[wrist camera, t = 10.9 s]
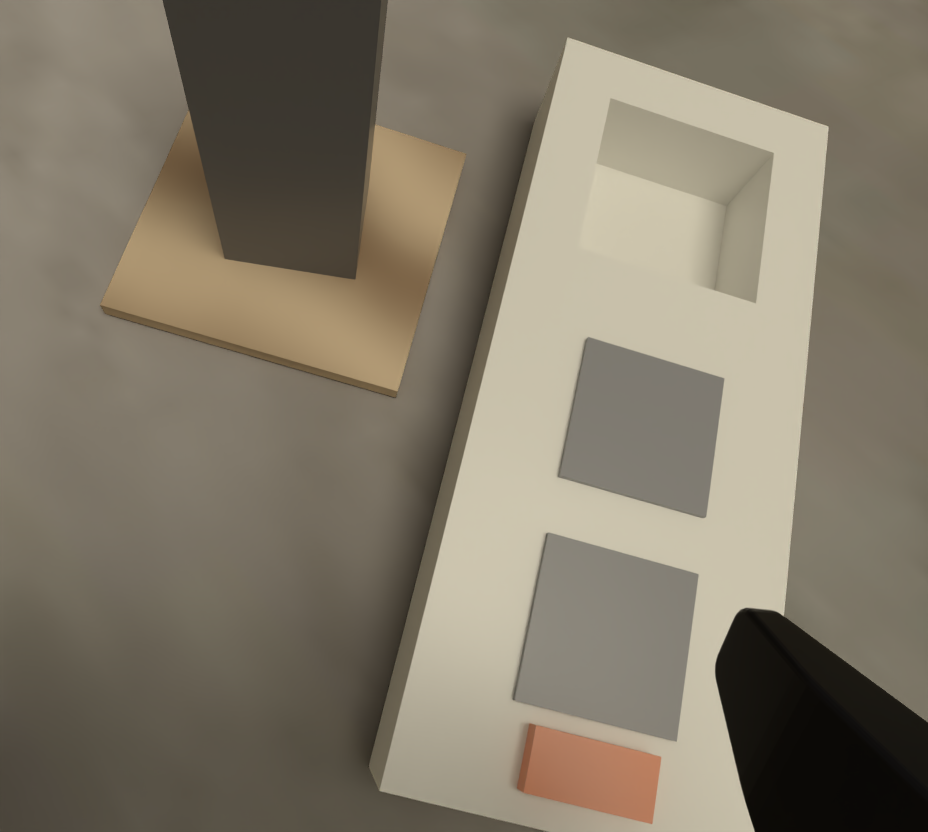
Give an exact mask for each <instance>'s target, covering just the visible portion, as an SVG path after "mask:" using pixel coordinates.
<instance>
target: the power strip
mask: <svg viewBox="0 0 928 832" xmlns="http://www.w3.org/2000/svg"><path fill="white" fill-rule="evenodd" d="M828 128H829V127H828V126H825V125H822V124H819V123H816V122H813V121H810V120H807V119H805V118H802V117H799V116H796V115H793V114H790V113H787V112H784V111H781V110H778V109H775V108H772V107H770V106H767V105H764V104H761V103H758V102H755V101H752V100H749V99H746V98H743V97H740V96H737V95H734V94H732V93H729V92H726V91H723V90H720V89H717V88H714V87H711V86H708V85H705V84H702V83H699V82H696V81H694V80H691V79H688V78H685V77H682V76H679V75H676V74H673V73H670V72H667V71H664V70H661V69H658V68H656V67H653V66H650V65H647V64H644V63H641V62H638V61H635V60H632V59H629V58H626V57H623V56H620V55H618V54H615V53H612V52H609V51H606V50H603V49H600V48H597V47H594V46H591V45H588V44H585V43H582V42H580V41H577V40H574V39H571V38H567V41H566V43H565V46H564V48H563V51H562V53H561V56H560V58H559V61H558V63H557V66H556V68H555V71H554V73H553V76H552V78H551V81H550V83H549V86H548V88H547V91H546V93H545V96H544V98H543V101H542V103H541V106H540V108H539V111H538V113H537V116H536V118H535V121H534V125H533V128H532V132H531V136H530V140H529V144H528V148H527V152H526V156H525V160H524V163H523V167H522V171H521V175H520V179H519V183H518V187H517V191H516V195H515V198H514V202H513V206H512V210H511V214H510V218H509V222H508V226H507V230H506V234H505V237H504V241H503V245H502V249H501V253H500V257H499V261H498V265H497V269H496V272H495V276H494V280H493V284H492V288H491V292H490V296H489V300H488V304H487V307H486V311H485V315H484V319H483V323H482V327H481V331H480V335H479V339H478V342H477V346H476V350H475V354H474V358H473V362H472V366H471V370H470V374H469V377H468V381H467V385H466V389H465V393H464V397H463V401H462V405H461V409H460V413H459V416H458V420H457V424H456V428H455V432H454V436H453V440H452V444H451V448H450V451H449V455H448V459H447V463H446V467H445V471H444V475H443V479H442V483H441V486H440V490H439V494H438V498H437V502H436V506H435V510H434V514H433V518H432V521H431V525H430V529H429V533H428V537H427V541H426V545H425V549H424V553H423V556H422V560H421V564H420V568H419V572H418V576H417V580H416V584H415V588H414V591H413V595H412V599H411V603H410V607H409V611H408V615H407V619H406V623H405V627H404V630H403V634H402V638H401V642H400V646H399V650H398V654H397V658H396V662H395V665H394V669H393V673H392V677H391V681H390V685H389V689H388V693H387V697H386V700H385V704H384V708H383V712H382V716H381V720H380V724H379V728H378V732H377V735H376V739H375V743H374V747H373V751H372V755H371V759H370V763H369V769H370V771H371V773H372V776H373V778H374V780H375V782H376V785H377V787H378V789H379V791H381V792H385V793H389V794H393V795H398V796H402V797H406V798H410V799H414V800H419V801H423V802H427V803H431V804H435V805H439V806H444V807H448V808H452V809H456V810H460V811H464V812H469V813H473V814H477V815H481V816H485V817H489V818H494V819H498V820H502V821H506V822H510V823H515V824H519V825H523V826H527V827H531V828H535V829H540V830H544V831H548V832H755V831H754V828H753V825H752V822H751V819H750V816H749V812H748V809H747V806H746V803H745V799H744V796H743V792H742V788H741V785H740V781H739V777H738V772H737V768H736V764H735V760H734V755H733V751H732V747H731V743H730V738H729V734H728V730H727V726H726V721H725V717H724V713H723V709H722V704H721V700H720V696H719V692H718V687H717V683H716V678H715V663H716V658H717V655H718V653H719V651H720V648H721V646H722V644H723V642H724V639H725V637H726V635H727V633H728V630H729V628H730V626H731V624H732V621H733V619H734V617H735V615H736V613H737V612H739V611H740V610H741V609H743V608H757V609H767V610H773V611H776V612H778V613H780V614H781V615H783V616H784V608H785V597H786V586H787V575H788V564H789V554H790V543H791V532H792V521H793V510H794V499H795V488H796V477H797V466H798V455H799V444H800V434H801V423H802V412H803V401H804V390H805V379H806V368H807V357H808V346H809V335H810V324H811V313H812V303H813V292H814V281H815V270H816V259H817V248H818V237H819V226H820V215H821V204H822V193H823V183H824V172H825V161H826V150H827V139H828Z"/></svg>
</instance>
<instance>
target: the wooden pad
mask: <svg viewBox="0 0 928 832" xmlns="http://www.w3.org/2000/svg"><path fill="white" fill-rule="evenodd" d="M465 157H466V154H465V153H462V152H459V151H456V150H452V149H449V148H446V147H443V146H440V145H437V144H434V143H431V142H428V141H425V140H422V139H418V138H415V137H412V136H409V135H406V134H403V133H400V132H397V131H394V130H391V129H387V128H384V127H381V126H378V125H375V130H374V140H373V150H372V160H371V169H370V179H369V189H368V196H367V203H366V210H365V217H364V224H363V231H362V238H361V245H360V252H359V259H358V266H357V273H356V280H354V279H347V278H341V277H335V276H328V275H322V274H316V273H309V272H303V271H297V270H290V269H284V268H278V267H271V266H265V265H259V264H252V263H246V262H240V261H234V260H227V259H225V258H224V254H223V250H222V246H221V241H220V237H219V233H218V229H217V225H216V221H215V216H214V212H213V208H212V204H211V200H210V196H209V191H208V187H207V183H206V179H205V175H204V170H203V166H202V162H201V158H200V154H199V150H198V145H197V141H196V137H195V133H194V129H193V125H192V120H191V116H190V112H189V110H188V112H187V115H186V117H185V119H184V121H183V123H182V126H181V128H180V130H179V132H178V134H177V137H176V139H175V141H174V143H173V145H172V148H171V150H170V152H169V154H168V156H167V159H166V161H165V163H164V165H163V167H162V170H161V172H160V174H159V176H158V178H157V181H156V183H155V185H154V187H153V189H152V192H151V194H150V196H149V198H148V200H147V203H146V205H145V207H144V209H143V211H142V214H141V216H140V218H139V220H138V223H137V225H136V227H135V229H134V231H133V234H132V236H131V238H130V240H129V242H128V245H127V247H126V249H125V251H124V253H123V256H122V258H121V260H120V262H119V264H118V267H117V269H116V271H115V273H114V275H113V278H112V280H111V282H110V284H109V286H108V289H107V291H106V293H105V295H104V297H103V300H102V302H101V304H100V306H101V307H102V309H103V310H104V312H105V314H108V315H112V316H115V317H119V318H122V319H126V320H129V321H132V322H136V323H139V324H143V325H146V326H150V327H153V328H157V329H160V330H164V331H167V332H170V333H174V334H177V335H181V336H184V337H188V338H191V339H195V340H198V341H202V342H205V343H208V344H212V345H215V346H219V347H222V348H226V349H229V350H233V351H236V352H240V353H243V354H246V355H250V356H253V357H257V358H260V359H264V360H267V361H271V362H274V363H277V364H281V365H284V366H288V367H291V368H295V369H298V370H302V371H305V372H309V373H312V374H315V375H319V376H322V377H326V378H329V379H333V380H336V381H340V382H343V383H347V384H350V385H353V386H357V387H360V388H364V389H367V390H371V391H374V392H378V393H381V394H385V395H388V396H391V397H395V398H396V395H397V392H398V389H399V385H400V382H401V378H402V375H403V371H404V368H405V364H406V361H407V357H408V354H409V351H410V347H411V344H412V340H413V337H414V333H415V330H416V326H417V323H418V319H419V316H420V313H421V309H422V306H423V302H424V299H425V295H426V292H427V288H428V285H429V282H430V278H431V275H432V271H433V268H434V264H435V261H436V257H437V254H438V250H439V247H440V244H441V240H442V237H443V233H444V230H445V226H446V223H447V219H448V216H449V213H450V209H451V206H452V202H453V199H454V195H455V192H456V188H457V185H458V181H459V178H460V175H461V171H462V168H463V164H464V161H465Z"/></svg>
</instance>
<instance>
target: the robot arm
mask: <svg viewBox="0 0 928 832" xmlns="http://www.w3.org/2000/svg"><path fill="white" fill-rule="evenodd" d="M715 678H716V683H717V687H718V692H719V696H720V700H721V704H722V709H723V713H724V717H725V721H726V726H727V730H728V734H729V738H730V743H731V747H732V751H733V755H734V760H735V764H736V768H737V772H738V777H739V781H740V785H741V788H742V792H743V796H744V799H745V803H746V806H747V809H748V812H749V816H750V819H751V822H752V825H753V828H754V831H755V832H928V722H926V721H925V720H924V719H922V718H921V717H920V716H918V715H917V714H916V713H914V712H913V711H912V710H910V709H909V708H907V707H906V706H905V705H903V704H902V703H901V702H899V701H898V700H897V699H895V698H894V697H893V696H891V695H890V694H888V693H887V692H886V691H884V690H883V689H882V688H880V687H879V686H878V685H876V684H875V683H874V682H872V681H871V680H870V679H868V678H867V677H865V676H864V675H863V674H861V673H860V672H859V671H857V670H856V669H855V668H853V667H852V666H851V665H849V664H848V663H846V662H845V661H844V660H842V659H841V658H840V657H838V656H837V655H836V654H834V653H833V652H832V651H830V650H829V649H827V648H826V647H825V646H823V645H822V644H821V643H819V642H818V641H817V640H815V639H814V638H813V637H811V636H810V635H809V634H807V633H806V632H804V631H803V630H802V629H800V628H799V627H798V626H796V625H795V624H794V623H792V622H791V621H790V620H788V619H787V618H785V617H784V616H783V615H781V614H780V613H778V612H776V611H773V610H767V609H757V608H743V609H741V610H740V611H739V612H737V613H736V615H735V617H734V619H733V621H732V624H731V626H730V628H729V630H728V633H727V635H726V637H725V639H724V642H723V644H722V646H721V648H720V651H719V653H718V655H717V658H716V663H715Z"/></svg>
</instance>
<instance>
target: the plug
mask: <svg viewBox="0 0 928 832" xmlns="http://www.w3.org/2000/svg"><path fill="white" fill-rule="evenodd" d="M387 3H388V0H163V4H164V8H165V12H166V16H167V20H168V25H169V29H170V33H171V37H172V41H173V45H174V50H175V54H176V58H177V62H178V66H179V70H180V75H181V79H182V83H183V87H184V91H185V95H186V100H187V104H188V108H189V112H190V116H191V120H192V125H193V129H194V133H195V137H196V141H197V145H198V150H199V154H200V158H201V162H202V166H203V170H204V175H205V179H206V183H207V187H208V191H209V196H210V200H211V204H212V208H213V212H214V216H215V221H216V225H217V229H218V233H219V237H220V241H221V246H222V250H223V254H224V258H225V259H227V260H234V261H240V262H246V263H252V264H259V265H265V266H271V267H278V268H284V269H290V270H297V271H303V272H309V273H316V274H322V275H328V276H335V277H341V278H347V279H354V280H356V273H357V266H358V259H359V252H360V245H361V238H362V231H363V224H364V217H365V210H366V203H367V196H368V189H369V179H370V169H371V160H372V150H373V140H374V130H375V120H376V111H377V101H378V91H379V81H380V72H381V62H382V52H383V42H384V33H385V23H386V13H387Z"/></svg>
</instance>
